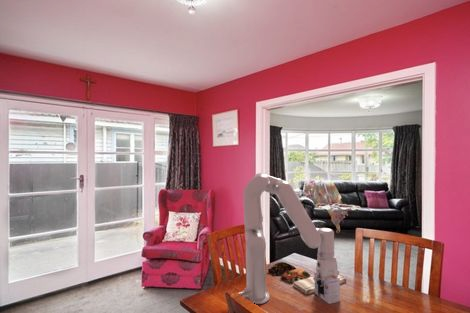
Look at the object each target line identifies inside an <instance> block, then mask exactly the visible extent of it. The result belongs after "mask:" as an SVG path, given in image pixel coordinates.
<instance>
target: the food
mask: <svg viewBox="0 0 470 313" xmlns="http://www.w3.org/2000/svg"><path fill="white" fill-rule="evenodd" d="M294 268H295V269H294ZM267 270H268V271H267V273H268V274H270V275H271V276H275V275H276V276H278V277H279V276H280V277H279V278H280V279H282V280H284V281H286V282H288V283H289V284H290V283H291V284H293V282H296V281H299V279H300V280H303V279H306V278H309V276H310V275H311V274H310V273H309V272H308V271H306V270H303V269H301V268H297V267H295V266H294V265H292V264H290V263H288V262H284V261H281V262H276V263H274V264H273V265H272V266H271V267H270V268H268V269H267ZM271 273H272V274H271Z"/></svg>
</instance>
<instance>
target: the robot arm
mask: <svg viewBox="0 0 470 313" xmlns="http://www.w3.org/2000/svg"><path fill="white" fill-rule="evenodd" d="M263 192H266V193H270V194H272V195H276V197H277V198H278V201H279V202H280V204H281V205H282V207H283V208H284V211H285V213H286V214H287V216H288V217H289V220H291V222H292V223H293V224H294V225H295V227H296V229H297V230H298V231H299V234H300V238H301V239H302V241H303V242H304V243H305V245H306V246H307V247H308V248H310V249H317V254H316V256H317V258H316V267H315V268H316V269H315V270H316V271H315V272H316V275H315V274H314V275H313V276H314V278H313V280H314V281H315V282H316V283H317V284H318V292H319V293H320V294H322V295H324V286H323V283H324V281H326V279H327V278H330V277H333V276H336V277H338V275H340V271H339V269H338V262H337V258H336V256H335V232H334V230H333V229H331V228H328V227H319V228H318V227H316V226H315V224H314V222H313V220H312V219H311V218H310V215H309V214H308V212H307V210H306V209H305V207H304V205H303V204H302V202H301V201H300V198H299V197H298V194H296V191H295V189H294V188H293V185H291V183H290V182H289V181H286V180H284V179H281V178H277V177H274V176H271V175H268V174H266V173H265V174H264V173H261V172H260V173H256V174H254V175H253V177H252V178H251V179H250V180H249V181H248V182H247V183H246V185H245V186H244V188H243V193H242V194H243V197H242V200H243V222H244V223H243V224H244V233H245V235H244V236H245V265H246V266H245V267H246V268H245V269H246V272H245V273H246V274H245V275H246V278H245V280H246V281H245V282H246V287H244V289H243V290H242V291H239V292H237V293H238V294H240V295H241V297H242V296H243V297H245V298H246V299H248V300H250V301H252V302H253V303H255V304H254V305H261V304H265V303H267V302H268V301H269V300H270V298H271V297H270V292H268V291H267V271H266V269H267V266H266V265H267V264H266V260H267V259H266V257H267V256H266V255H267V254H266V253H267V242H266V237H265V235H264V234H265V233H264V226H263V221H264V217H263V213H262V212H263V211H262V203H261V202H262V201H261V197H262V194H263ZM320 277H321V278H320ZM320 280H322V281H321V283H320ZM243 297H242V298H243Z"/></svg>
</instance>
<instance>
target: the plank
mask: <svg viewBox="0 0 470 313" xmlns="http://www.w3.org/2000/svg"><path fill="white" fill-rule="evenodd" d="M314 276H315V275H313V276H310V277H307V278H304V279H300V280H299V279H298V280H297V281H295V282H293V283H292V284H293V287H295V288H296V289H297V290H299V291H300V292H301V293H304V295H310V294H313V293H315V281H314V280H313V278H314ZM338 278H340V285H341V284H344V283H347V277H345V276H343V275H341V274H339V275H338Z"/></svg>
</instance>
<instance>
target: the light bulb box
mask: <svg viewBox="0 0 470 313" xmlns="http://www.w3.org/2000/svg"><path fill="white" fill-rule="evenodd" d="M315 275H316V271H314V276H315ZM320 278H321V277H320ZM321 281H322V280H320V283H321ZM340 285H341V284H340V278H338V277H336V276H333V277H330V278H327V279H326V281H324V283H323V286H324V295H322V294H320V293H319V292H318V284H317V283H316V282H315V292H314V294H315V295H316V296H318V297H319V298H320V299H321V300H323V301H324V302H325V303H327V304H328V305H329V304H334V303H338V302H341V291H340V290H341V288H340V287H341V286H340Z"/></svg>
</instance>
